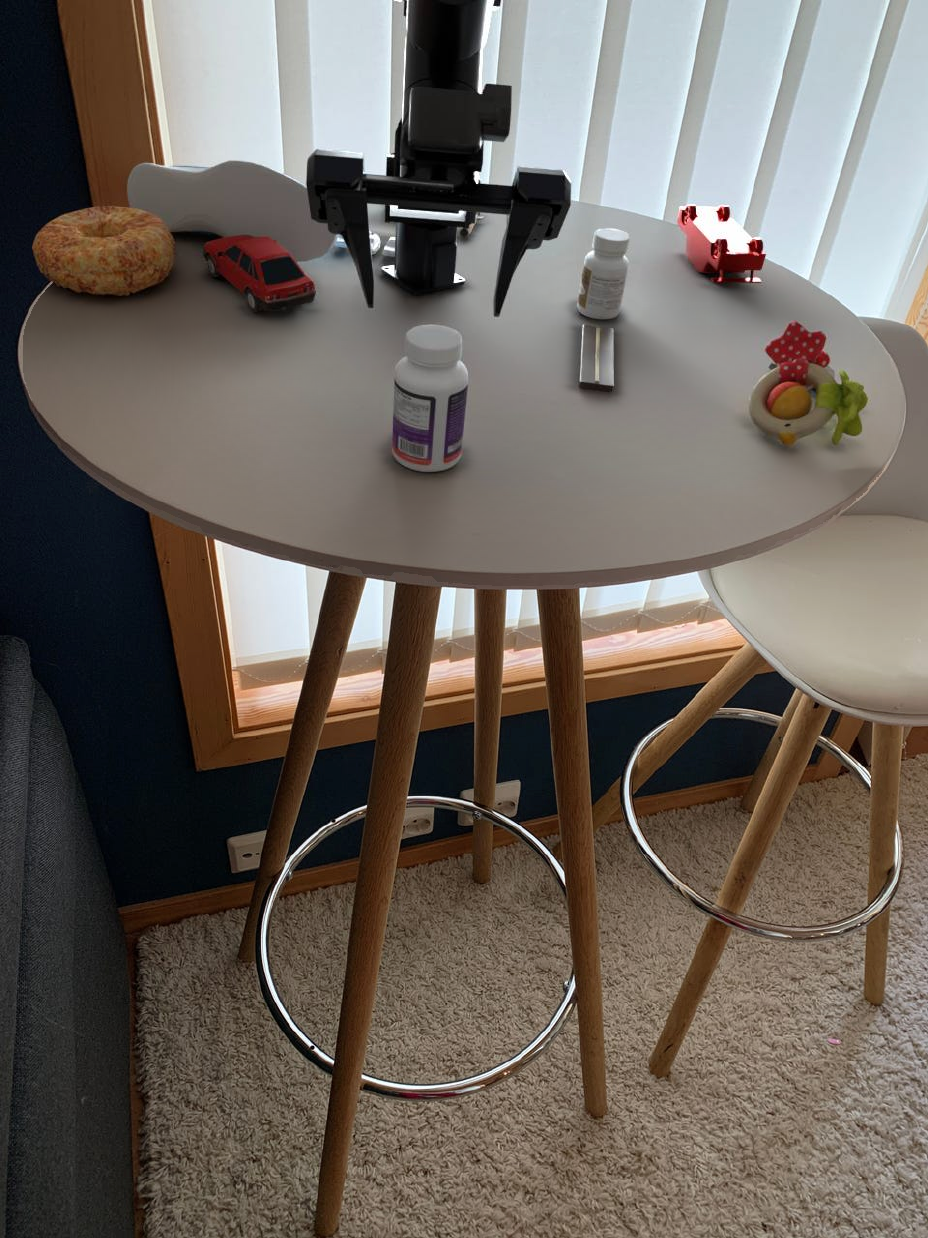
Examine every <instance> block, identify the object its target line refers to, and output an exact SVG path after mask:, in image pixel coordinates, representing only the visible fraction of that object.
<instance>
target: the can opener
mask: <svg viewBox="0 0 928 1238" xmlns="http://www.w3.org/2000/svg"><path fill="white" fill-rule="evenodd" d="M484 218H485V216H484V215H481V213H480V212H476V218H475V223H474V224H470V225H469V229H464V228H460V231H459V235H460V236H461V237H462V238H467V237H469V235H471V232H472V231H473V228H474V227H475V225H476V224H477V222H478V221H477V220H480V219H484Z"/></svg>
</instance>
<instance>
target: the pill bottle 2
mask: <svg viewBox="0 0 928 1238" xmlns="http://www.w3.org/2000/svg"><path fill="white" fill-rule="evenodd" d="M630 240H631V237H630V235H629V234H628V233H627V232H625V231H623V230H620V229H616V228H608V227H606V228H599V229H596V230H595V231H594V234H593V239H592V245H591V248H592V251H589V252H588V253H587V254H586V256H585V257H584V263H583V267H582V273H581V280H580V284H579V285H580V286H579V290H578V291H579V292H578V297H577V304H576V308H577V310H578V312H580V314H582V315H583V316H585V317H588V318H591V319H595V320H611V319H614V318H617V316H619V314H620V312H621V306H622V302H623V297H624V292H625V287H626V282H627V277H628V273H629V268H630V262H629V259H628V258H627V257H626V256H625V255H626V254H627V253H628V250H629V244H630Z"/></svg>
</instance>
